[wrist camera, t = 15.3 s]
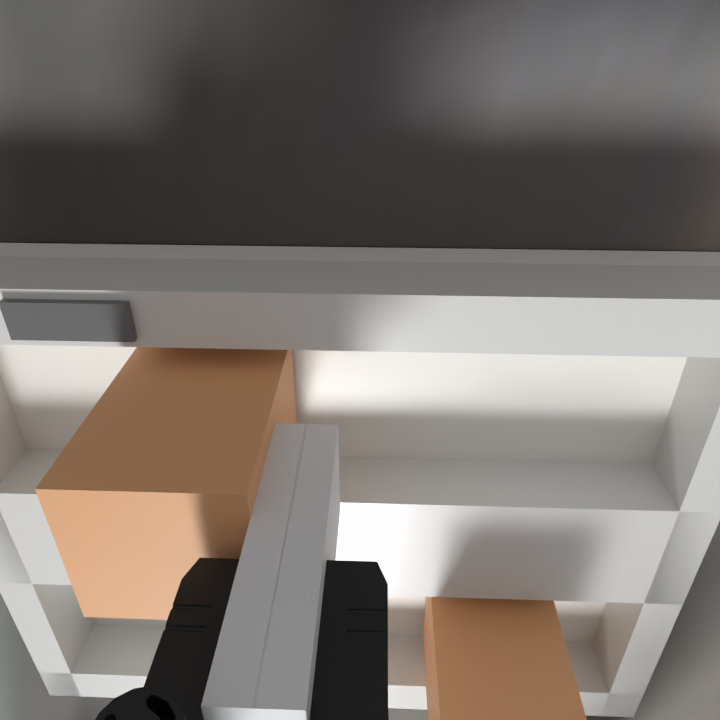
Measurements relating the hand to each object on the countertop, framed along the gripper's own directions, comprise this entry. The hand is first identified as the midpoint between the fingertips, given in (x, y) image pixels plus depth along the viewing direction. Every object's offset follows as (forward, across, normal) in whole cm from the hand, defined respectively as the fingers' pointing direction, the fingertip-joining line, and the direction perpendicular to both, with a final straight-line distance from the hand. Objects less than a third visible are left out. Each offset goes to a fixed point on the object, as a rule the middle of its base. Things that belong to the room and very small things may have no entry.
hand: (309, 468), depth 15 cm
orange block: (+3, -3, 0) cm, 4 cm away
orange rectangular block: (+3, +6, -9) cm, 11 cm away
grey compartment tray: (+4, 0, -4) cm, 6 cm away
